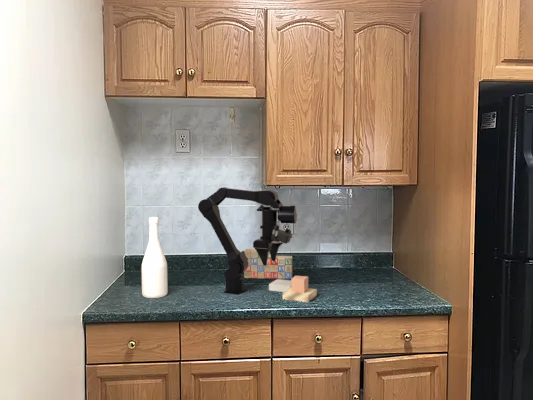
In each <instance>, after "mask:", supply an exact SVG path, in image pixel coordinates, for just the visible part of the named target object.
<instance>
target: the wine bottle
mask: <svg viewBox="0 0 533 400" xmlns="http://www.w3.org/2000/svg"><path fill="white" fill-rule="evenodd" d="M159 223H160V220H159V217H158V216H150V217H148V225H149V227H148V228H149V229H148V231H149V235H148V236H149V239H148V242H147V246H146V250H145V253H144V256H143V259H142V262H141V295H142V296H143V297H144V298H147V299H159V298H163V297H165V296H167V295H168V261H167V259H166V256H165V253H164V250H163V247H162V245H161V242H160V237H159Z"/></svg>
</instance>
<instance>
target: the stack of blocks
mask: <svg viewBox="0 0 533 400" xmlns="http://www.w3.org/2000/svg"><path fill="white" fill-rule="evenodd" d="M243 251H244V252H245V255H246V257H247V258H248V267H247V269H246V270H245V271H244V272H243V279H244V278H245V279H275V280H277V279H282V280H291V278H293V255H277V256H276V259H275V261H272V258H271V255H270V252H268V260H267V265H266V266H264V265H263V263H262V261H261V259H260V257H259V255H258V253H257V251H256V250H255V248H246V249H245V250H243Z"/></svg>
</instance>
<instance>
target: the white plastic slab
mask: <svg viewBox="0 0 533 400" xmlns="http://www.w3.org/2000/svg"><path fill="white" fill-rule="evenodd" d="M289 288H291V279H275V280H272V282H270V283H269V284H268V291H272V292H280V293H283V292H284V291H286V290H287V289H289Z"/></svg>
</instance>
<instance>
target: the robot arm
mask: <svg viewBox="0 0 533 400" xmlns="http://www.w3.org/2000/svg"><path fill="white" fill-rule="evenodd" d="M225 199H233V200H242V201H251V202H255V203H256V204H260V206H259V207H258V208H257V209H256V211H257V212H261V224H262V225H260V227H259V229H261V236H260V237H259V238H257V239H255V240H254V241H253V242H252V249H255V250H256V251H257V253H258V255H259V257H260V259H261V261H262V263H263V265H264V266H266V265H267V260H268V252H270V255H271V258H272V261H275V259H276V256H278V252H279V248H280V247H281V246H282V245H284V244H288V243H290V241H291V239H292V238H293V233H292V230H291V229H290V228H286V229H285V230H283V229H280V225H279V224H278V222H280V224H297V219H298V213H297V208H296V207H297V206H296V205H284V204H283V203H282V202H281V200H280V199H279V194H278V193H277V191H275V190H274V189H267V190H266V189H264V190H247V189H237V188H231V187H230V188H229V187H225V186H224V187H220V188H218V189H217V190H216V191H215V192H214V193H212V194H211V195H210V196H208V197H207V198H205V199H204V198H203V199H201V200H200V201H199V202H198V205H197V208H198V211H199V212H200V214H201V215H202V216H203V217H204V219H205V220H207V221H208V222H209V223H210V225H211V227H212V229H213V231H214V233H215V235H216V236H217V238H218V240H219V242H220V244H221V245H222V249H223V250H224V252H225V253H226V258H227V263H228V268H227V270H225V271H224V272H223V274H224V278H225V290H223V293H226V294H227V293H228V294H235V295H236V294H237V295H240V294H241V293H243V292H244V291H246V289H245V279H244V271H245V270H246V269H247V267H248V258H247V257H246V255H245V252H244V251H245V250H242V251H240V250H239V249H238V247H236V244H235V241H234V240H233V239H232V237H231V235H230V233H229V231H228V229H227V227H226V226H225V224H224V222H223V220H222V217H221V213H220V207H219V205H220V204H222V203H223V202H224V200H225Z"/></svg>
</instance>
